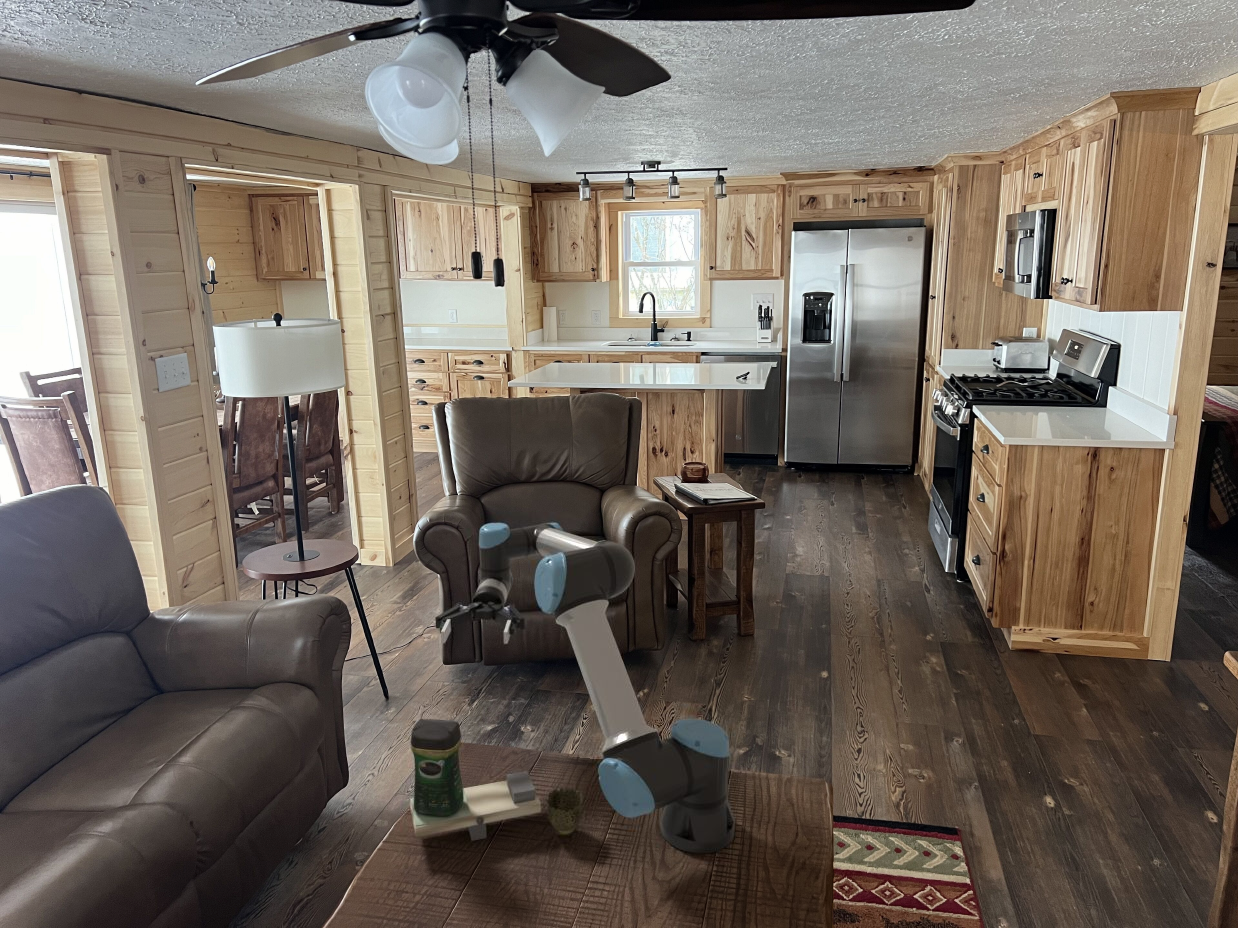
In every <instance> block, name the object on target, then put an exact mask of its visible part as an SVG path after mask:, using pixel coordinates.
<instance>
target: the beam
mask: <svg viewBox="0 0 1238 928" xmlns="http://www.w3.org/2000/svg"><path fill="white" fill-rule="evenodd" d="M463 796H464V800H463V804H462V806H461V808H460V809H459V810H458V811H457V812H456V813H455V814H453V815H451V816H448V817H435V816H426V815H421V814H418V813H417V812H416V811H415V810H414V797H410V798H409V808H410V812H411V818H412V824H413V829H414V835H415V837H417V838H418V837H422V836H427V835H428V836H429V835H431V834H432V835H433V834H437V833H442V832H447V831H448V832H449V831H452V830H458V829H462V828H468V826H474V825H480V824H484V823H486V824H487V823H493V822H498V821H502V820H507V819H513V818H518V817H523V816H528V815H533V814H538V813H542V802H541V801H540V798H539V796H538V794H537V791H536V789H535V786H534V784H533V781H532V779H531V777H530V774H529V772H528V770H523V771H520V772H513V773H507V774H506V780H502V781H501V780H500V781H497V782H496V781H495V782H492V783H486V784H485V783H484V784H481V785H475V786H469V787H464V788H463Z"/></svg>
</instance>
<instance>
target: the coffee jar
mask: <svg viewBox="0 0 1238 928" xmlns="http://www.w3.org/2000/svg"><path fill="white" fill-rule="evenodd" d="M461 743H462V732H461V727H460V723H459V722H458V721H455V720H450V719H449V720H447V719H436V718H435V719H434V718H419V719H418V721H416V723H415V724H414V726H413V727H412V730H411V735H410V744H409V745H410V746H409V747H410V749H411V751H412V753H413V757H414V758H413V761H414V781H413V782H414V786H413V798H414V810H415V811H416V812H417V813H418V814H421V815H426V816H435V817H448V816H451V815H453V814H455V813H456V812H457V811H458V810H459V809H460V808H461V806H462V804H463V800H464V796H463V780H462V775H461V768H460V759H459V749H460V746H461Z"/></svg>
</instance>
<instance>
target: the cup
mask: <svg viewBox="0 0 1238 928" xmlns="http://www.w3.org/2000/svg"><path fill="white" fill-rule="evenodd" d="M547 794H548V795H547V797H548V798H546V806H547V815H548V819H549V822H550V824H551V826H552V827H553V828H554V829H555V831H556V833H557V834H558V836H560V837H569V836H571V835H572V834H573V833H574V830H575V828H577V826H578V825H579V823H580V821H581V817H582V811H583V802H584V796H583V793H582V792H581V793H580V791H579V790H578V789H577V790H576V791H575V789H574V788H573V787H572V788H569V787H566V788H565V790H564V788H563V787H560V789H559V790H558V789H556V788H553V790H552V791H551V792H548V793H547Z"/></svg>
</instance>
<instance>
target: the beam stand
mask: <svg viewBox="0 0 1238 928" xmlns="http://www.w3.org/2000/svg"><path fill="white" fill-rule="evenodd" d="M467 829H468V833H469V836H470V840H471V842H474V841H477V840H481V839H487V823H484V824H480V825H474V826H468V827H467Z"/></svg>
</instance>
